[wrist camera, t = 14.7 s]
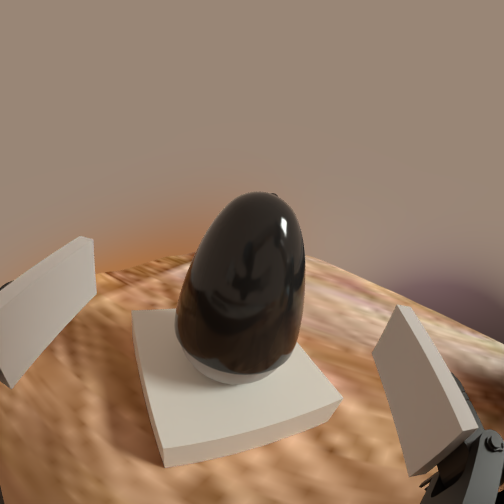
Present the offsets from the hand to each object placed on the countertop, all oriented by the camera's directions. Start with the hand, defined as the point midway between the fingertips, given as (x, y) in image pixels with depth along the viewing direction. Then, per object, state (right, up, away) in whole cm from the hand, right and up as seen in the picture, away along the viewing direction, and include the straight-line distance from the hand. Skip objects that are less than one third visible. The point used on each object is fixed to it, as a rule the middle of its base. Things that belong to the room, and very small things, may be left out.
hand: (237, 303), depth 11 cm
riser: (-2, -11, +15) cm, 19 cm away
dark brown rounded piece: (-2, -8, +14) cm, 16 cm away
